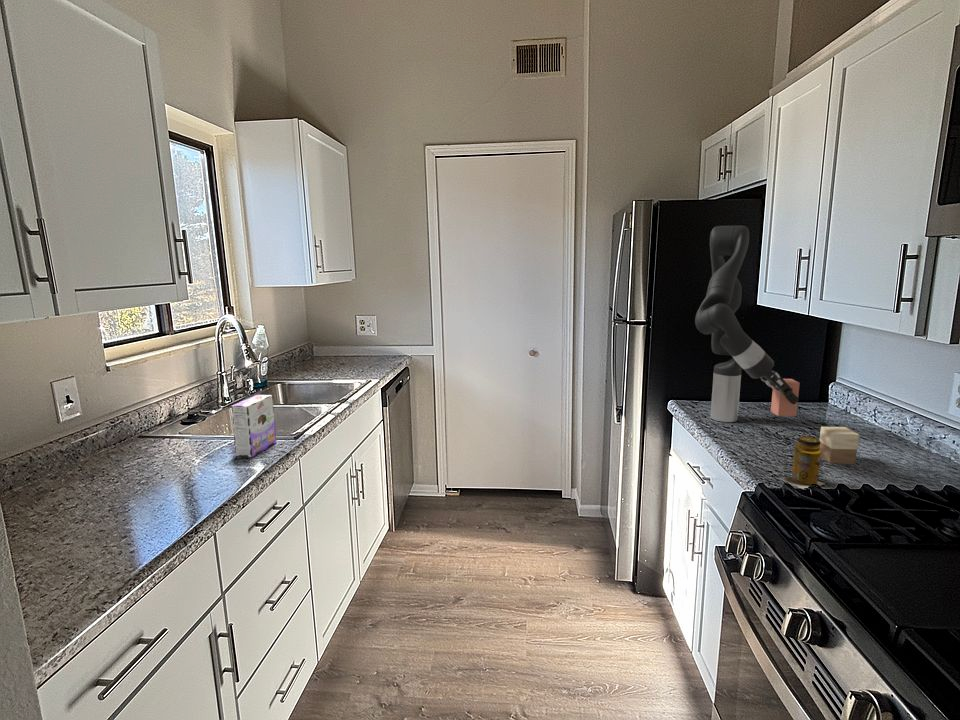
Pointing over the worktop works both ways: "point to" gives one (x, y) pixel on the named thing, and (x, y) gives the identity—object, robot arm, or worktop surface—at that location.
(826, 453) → the tower base
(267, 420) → the candy box
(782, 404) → the tall block
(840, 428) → the tower top
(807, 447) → the condiment
